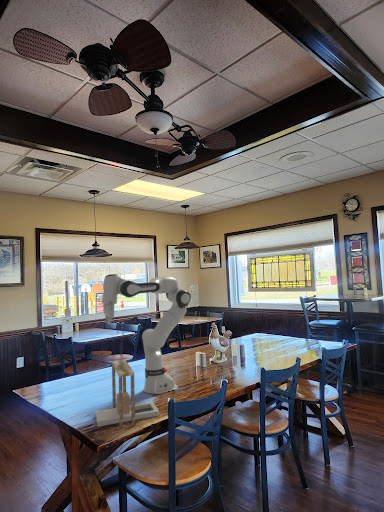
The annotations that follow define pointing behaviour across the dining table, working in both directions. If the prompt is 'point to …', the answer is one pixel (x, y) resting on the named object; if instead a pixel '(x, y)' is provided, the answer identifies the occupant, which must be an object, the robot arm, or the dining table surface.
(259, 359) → the dining table surface
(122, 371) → the arch
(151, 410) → the tray
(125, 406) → the block
